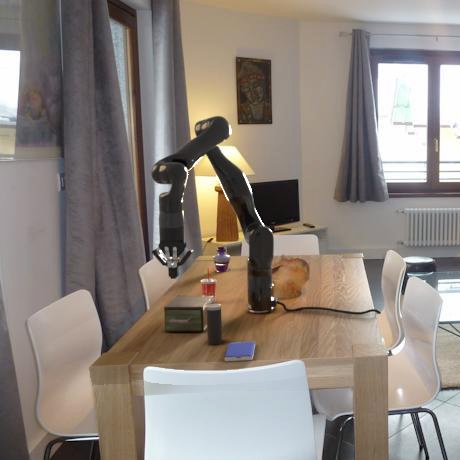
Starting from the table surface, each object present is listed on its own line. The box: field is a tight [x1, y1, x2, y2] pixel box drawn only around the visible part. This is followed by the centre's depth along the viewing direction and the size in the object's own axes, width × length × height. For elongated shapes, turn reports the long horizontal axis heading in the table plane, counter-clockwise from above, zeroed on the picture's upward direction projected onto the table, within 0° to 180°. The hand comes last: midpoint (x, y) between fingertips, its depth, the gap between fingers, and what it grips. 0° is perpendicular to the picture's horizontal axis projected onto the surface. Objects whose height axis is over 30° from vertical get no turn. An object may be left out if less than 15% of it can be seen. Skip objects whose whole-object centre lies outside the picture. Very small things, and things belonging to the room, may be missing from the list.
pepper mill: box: [206, 303, 223, 346], centre depth 203 cm, size 4×4×12 cm
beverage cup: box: [200, 267, 218, 304], centre depth 248 cm, size 6×6×14 cm
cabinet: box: [163, 294, 215, 333], centre depth 220 cm, size 15×13×9 cm
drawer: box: [164, 310, 202, 330], centre depth 216 cm, size 18×12×7 cm, turn 4°
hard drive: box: [224, 341, 256, 362], centre depth 195 cm, size 2×8×12 cm
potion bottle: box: [212, 245, 231, 273], centre depth 302 cm, size 9×9×12 cm
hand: (174, 278), depth 202 cm, fingers closed
